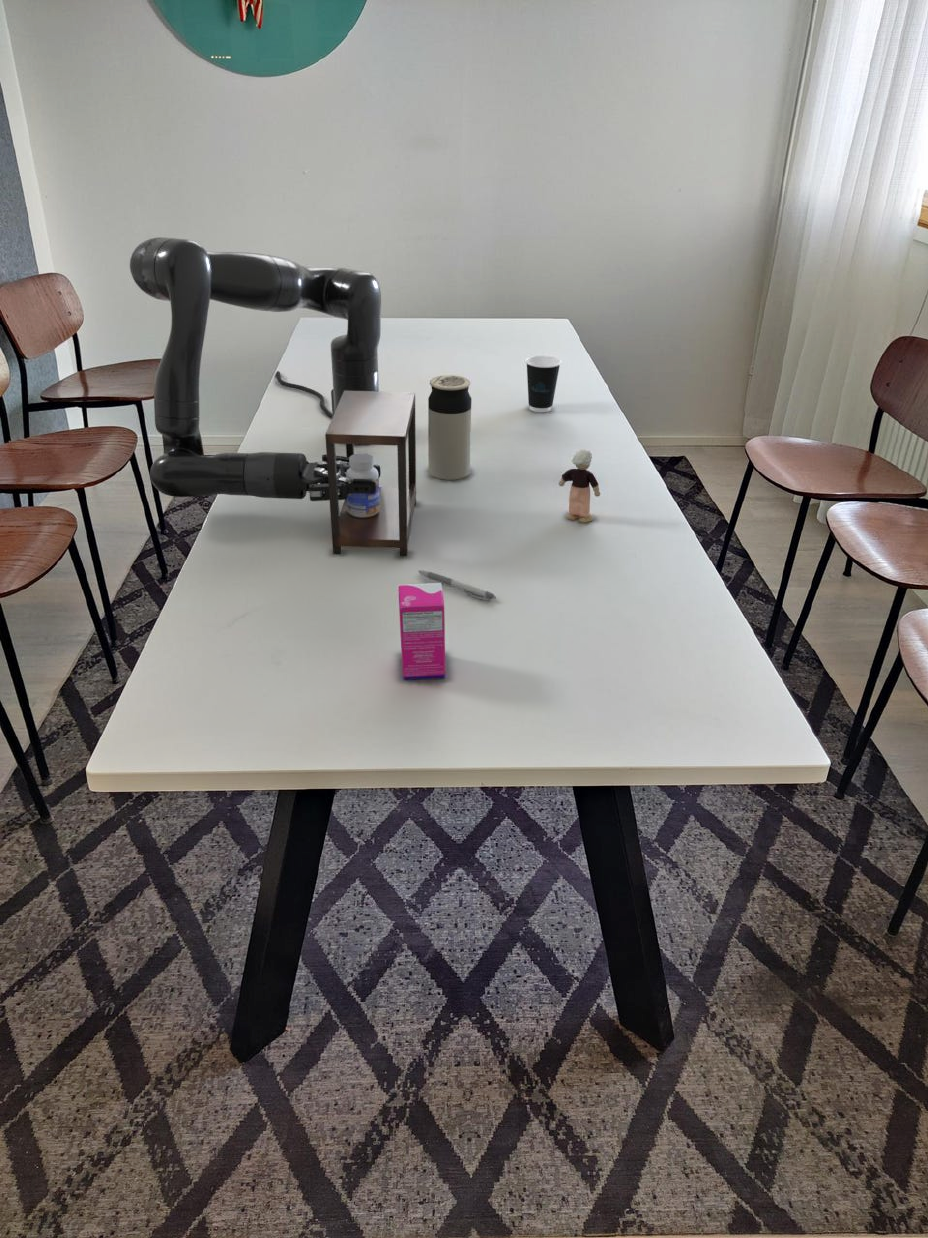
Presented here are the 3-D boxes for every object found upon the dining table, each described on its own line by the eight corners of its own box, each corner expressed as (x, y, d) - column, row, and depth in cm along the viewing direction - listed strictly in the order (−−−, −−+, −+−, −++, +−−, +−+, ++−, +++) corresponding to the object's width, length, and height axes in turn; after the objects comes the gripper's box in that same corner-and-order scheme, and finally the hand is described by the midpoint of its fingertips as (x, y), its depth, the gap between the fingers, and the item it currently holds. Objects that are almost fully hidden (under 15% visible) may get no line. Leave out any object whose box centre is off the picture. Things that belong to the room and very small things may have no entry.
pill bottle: (374, 520, 151) (372, 465, 146) (343, 516, 152) (340, 462, 147) (383, 506, 156) (382, 452, 151) (353, 502, 157) (350, 449, 151)
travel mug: (476, 469, 177) (478, 378, 168) (459, 484, 171) (460, 390, 162) (439, 461, 180) (440, 371, 170) (421, 476, 174) (420, 383, 164)
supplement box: (399, 655, 124) (398, 582, 118) (443, 654, 124) (444, 581, 118) (401, 681, 119) (399, 606, 113) (446, 679, 119) (447, 605, 113)
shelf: (333, 554, 147) (325, 434, 136) (349, 501, 164) (344, 390, 153) (407, 556, 147) (405, 436, 136) (416, 503, 164) (415, 392, 153)
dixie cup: (532, 416, 203) (535, 367, 197) (516, 405, 209) (519, 357, 203) (563, 412, 205) (567, 363, 199) (547, 401, 211) (551, 353, 205)
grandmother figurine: (600, 516, 161) (608, 448, 154) (596, 525, 158) (603, 457, 151) (558, 509, 163) (563, 442, 156) (553, 518, 160) (558, 450, 153)
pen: (493, 603, 136) (493, 595, 135) (416, 577, 142) (416, 569, 141) (497, 601, 136) (497, 592, 136) (420, 574, 142) (420, 566, 142)
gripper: (264, 471, 143) (372, 475, 143) (283, 437, 155) (382, 441, 155) (269, 515, 147) (373, 518, 147) (286, 478, 159) (383, 481, 159)
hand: (377, 478), depth 151 cm, fingers closed on pill bottle, 5 cm apart
